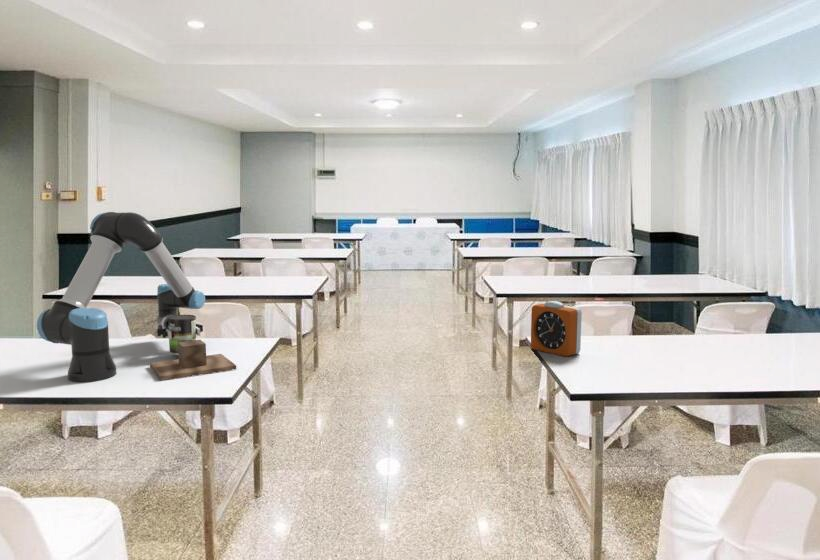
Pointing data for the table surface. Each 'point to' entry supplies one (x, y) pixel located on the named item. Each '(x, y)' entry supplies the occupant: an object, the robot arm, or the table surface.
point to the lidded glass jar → (181, 330)
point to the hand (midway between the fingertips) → (185, 334)
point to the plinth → (180, 372)
